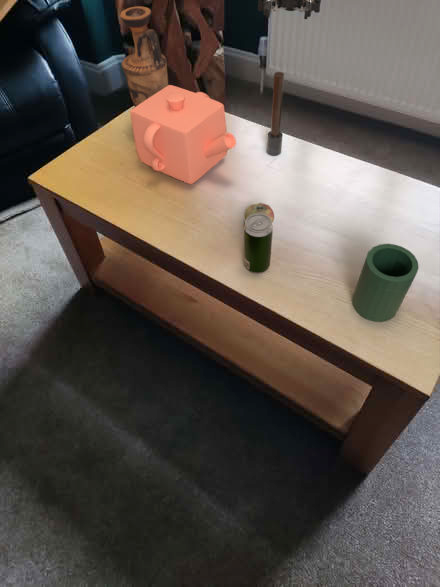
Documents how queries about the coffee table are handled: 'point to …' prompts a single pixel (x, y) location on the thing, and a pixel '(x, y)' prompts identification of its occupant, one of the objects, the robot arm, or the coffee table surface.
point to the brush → (276, 117)
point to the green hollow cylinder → (384, 282)
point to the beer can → (257, 243)
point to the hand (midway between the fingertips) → (286, 13)
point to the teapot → (181, 133)
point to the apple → (259, 210)
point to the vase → (143, 57)
